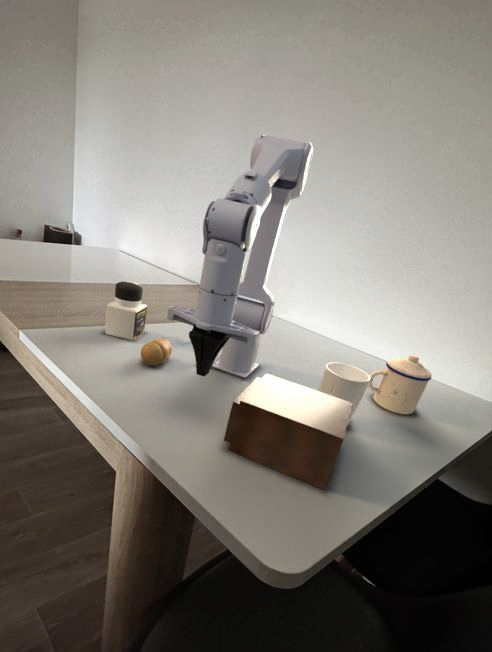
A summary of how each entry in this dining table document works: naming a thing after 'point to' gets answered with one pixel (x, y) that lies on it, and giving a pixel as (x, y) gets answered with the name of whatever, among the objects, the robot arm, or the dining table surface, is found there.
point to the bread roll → (156, 351)
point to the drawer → (236, 411)
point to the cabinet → (291, 429)
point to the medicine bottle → (126, 312)
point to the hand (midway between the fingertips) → (202, 373)
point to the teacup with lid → (401, 384)
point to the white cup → (345, 383)
